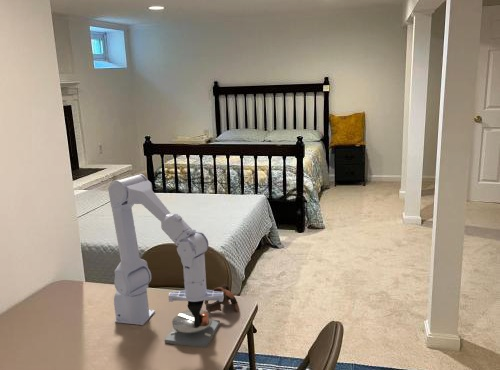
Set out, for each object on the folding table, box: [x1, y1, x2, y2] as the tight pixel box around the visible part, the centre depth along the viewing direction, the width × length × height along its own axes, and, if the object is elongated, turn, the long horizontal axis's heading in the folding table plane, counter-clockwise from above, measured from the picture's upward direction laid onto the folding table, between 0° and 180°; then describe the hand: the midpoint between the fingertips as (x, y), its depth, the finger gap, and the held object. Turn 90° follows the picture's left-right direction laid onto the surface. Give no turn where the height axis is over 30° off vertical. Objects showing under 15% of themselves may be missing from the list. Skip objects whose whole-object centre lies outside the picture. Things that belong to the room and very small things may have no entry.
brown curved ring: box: [203, 283, 240, 313], centre depth 140 cm, size 12×10×8 cm
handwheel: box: [172, 309, 213, 334], centre depth 127 cm, size 11×11×6 cm
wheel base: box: [164, 319, 221, 348], centre depth 128 cm, size 12×12×1 cm
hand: (197, 324), depth 123 cm, fingers closed, pressing on handwheel
